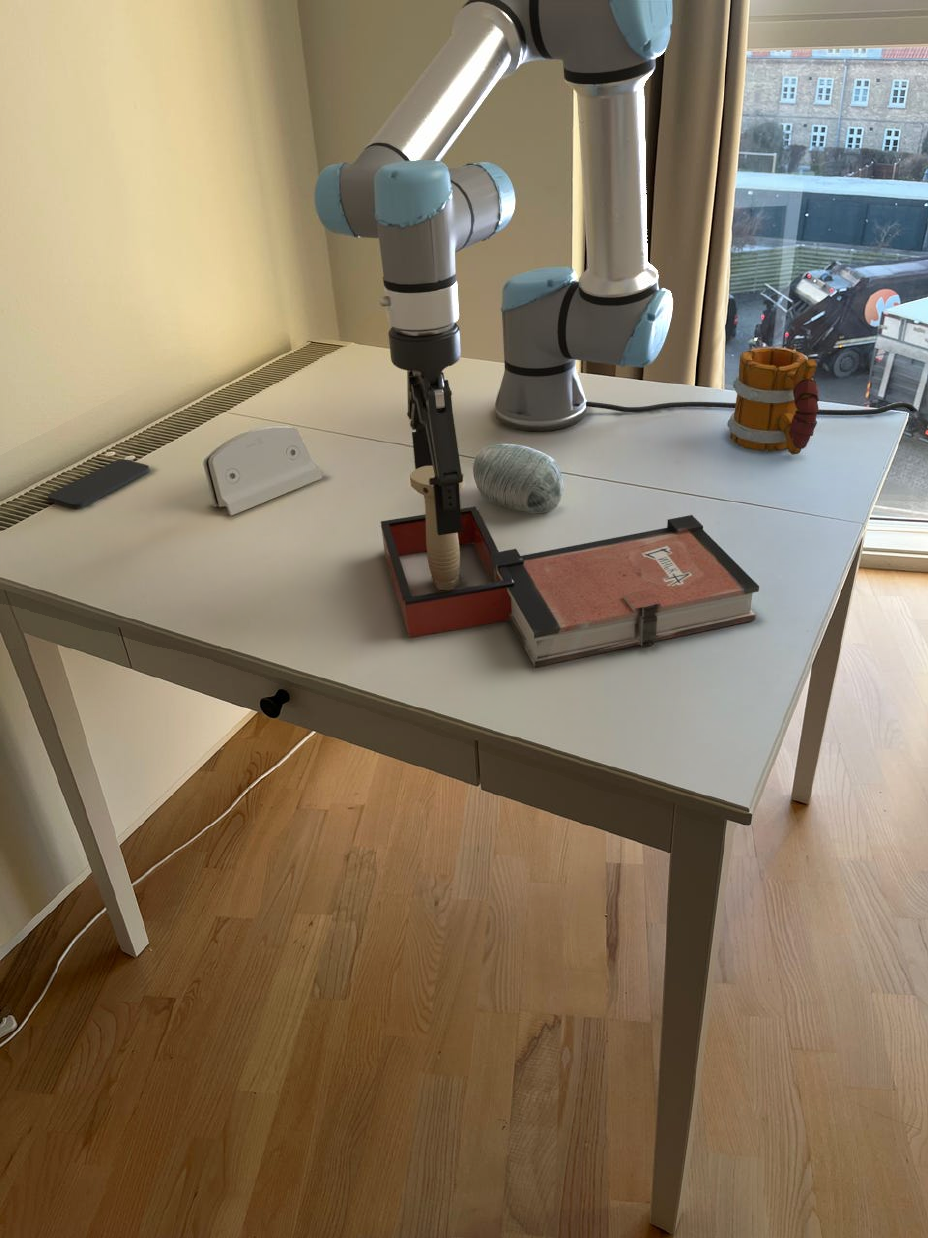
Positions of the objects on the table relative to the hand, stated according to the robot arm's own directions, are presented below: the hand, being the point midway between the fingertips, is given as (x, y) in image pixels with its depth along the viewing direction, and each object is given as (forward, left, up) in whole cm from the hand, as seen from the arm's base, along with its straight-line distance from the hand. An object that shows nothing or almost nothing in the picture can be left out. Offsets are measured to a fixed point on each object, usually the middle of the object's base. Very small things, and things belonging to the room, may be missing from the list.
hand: (438, 505), depth 112 cm
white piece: (+21, -35, -11) cm, 42 cm away
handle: (0, 0, -11) cm, 11 cm away
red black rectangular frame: (0, 0, -11) cm, 11 cm away
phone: (+46, -45, -11) cm, 65 cm away
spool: (-14, -18, -11) cm, 26 cm away
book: (-19, +11, -11) cm, 24 cm away
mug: (-56, -24, -11) cm, 62 cm away
